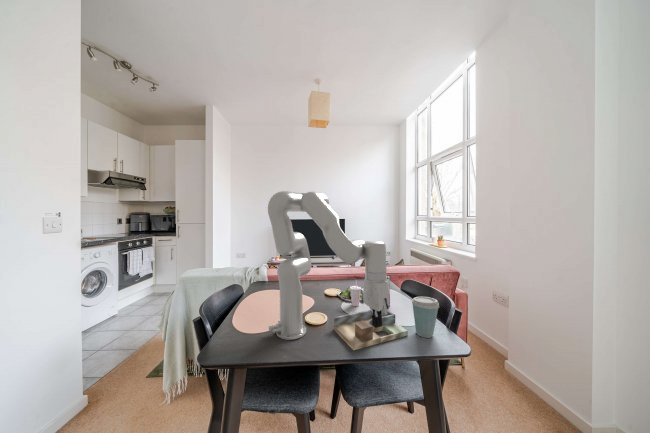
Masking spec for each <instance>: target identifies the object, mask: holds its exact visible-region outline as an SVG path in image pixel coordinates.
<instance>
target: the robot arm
mask: <svg viewBox="0 0 650 433" xmlns="http://www.w3.org/2000/svg"><path fill="white" fill-rule="evenodd" d="M288 212H301V213H304V212H305V213H306V214H307V215H308V216H309V217H310V218H311V219H312V220H313V222H314V223H315V224H316V225H317V226H318V227H319V228H320V230H321V231H322V234H323V237H324V239H325V241H326V243H327V245H328V247H329V248H330V249H331V250H332V252H333V253H334V254H335V255H336V256H337V257H338V258H339V259H340V261H342V262H344V263H345V264H347V265H348V264H349V265H351V264H355V263H357V262H358V261H360V260H363V259H364V271H365V275H364V281H363V290H362V291H363V301H362V302H363V303H364V305H366V306H368V307H369V310H371V314H372V326H374V327H375V328H377V327H381V326H382V316H383V315H387V314H388V313H387V310H389V308H390V307H389V291H388V285H387V281H386V280H387V276H388V275H387V250H386V248H387V246H386V243H385V242H384V241H380V240H371V241H369V240H368V241H367V240H361V239H353V240H351V239H350V238H349V237H348V236H347V235H346V234H345V233H344V231H343V230H342V228H341V226H340V217H339V215H338V214H337V213H336V212H335V211H334V210H333V208H332V207H331V206H330V201H329V198H328V196H327V195H326V194H324V193H322V192H318V191H317V192H316V191H308V192H292V191H288V190H287V191H284V190H283V191H278V192H276V193H274V194H273V195H272V196H271V198H270V199H269V201H268V204H267V214H268V217H269V221H270V224H271V228H272V230H271V231H272V235H273V239H274V245H275V249H276V251H277V253H278V255H280V256H282V257H283V256H284V257H286V256H287V257H288V256H290V257H288V258H286V259H284V260H283V261H281V262H280V263H279V265H278V267H277V270H276V272H277V278H278V285H279V286H278V287H279V320H278V321H277V322H278V323H276V324H275V325H269V326H268V331H269V332H273V333H276V336H277V337H278V338H280V339H281V340H285V341H286V340H287V341H292V340H297V339H300V338H303V337H304V336H305V335H306V333H307V326H305V325H304V323H303V322H304V321H303V314H304V313H303V287H302V283H301V279H300V278H303V277H304V276H307V275H308V274H309V273H310V272H311V269H312V259H311V255H310V250H309V244H308V242H307V238H306V237H305V236H304V234H302V232H298V231H294V228H293V222H292V220H291V219H290V216H289V215H288Z"/></svg>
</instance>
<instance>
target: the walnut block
mask: <svg viewBox="0 0 650 433" xmlns="http://www.w3.org/2000/svg"><path fill="white" fill-rule="evenodd" d="M355 336H356V337H357V338H358V339H359V340H360V341H361V342H364V341H368V340H372V339H373V326H372V325H370V324H369V323H368V322H366V321H363V322H359V323H355Z"/></svg>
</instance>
